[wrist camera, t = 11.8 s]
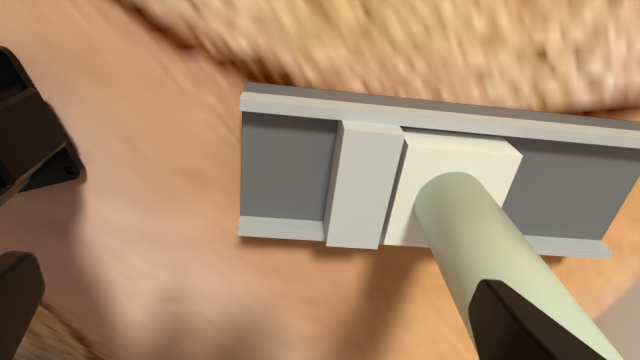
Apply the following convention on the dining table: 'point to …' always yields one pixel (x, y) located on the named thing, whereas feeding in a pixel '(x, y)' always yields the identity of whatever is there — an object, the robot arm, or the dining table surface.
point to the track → (529, 201)
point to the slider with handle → (475, 225)
